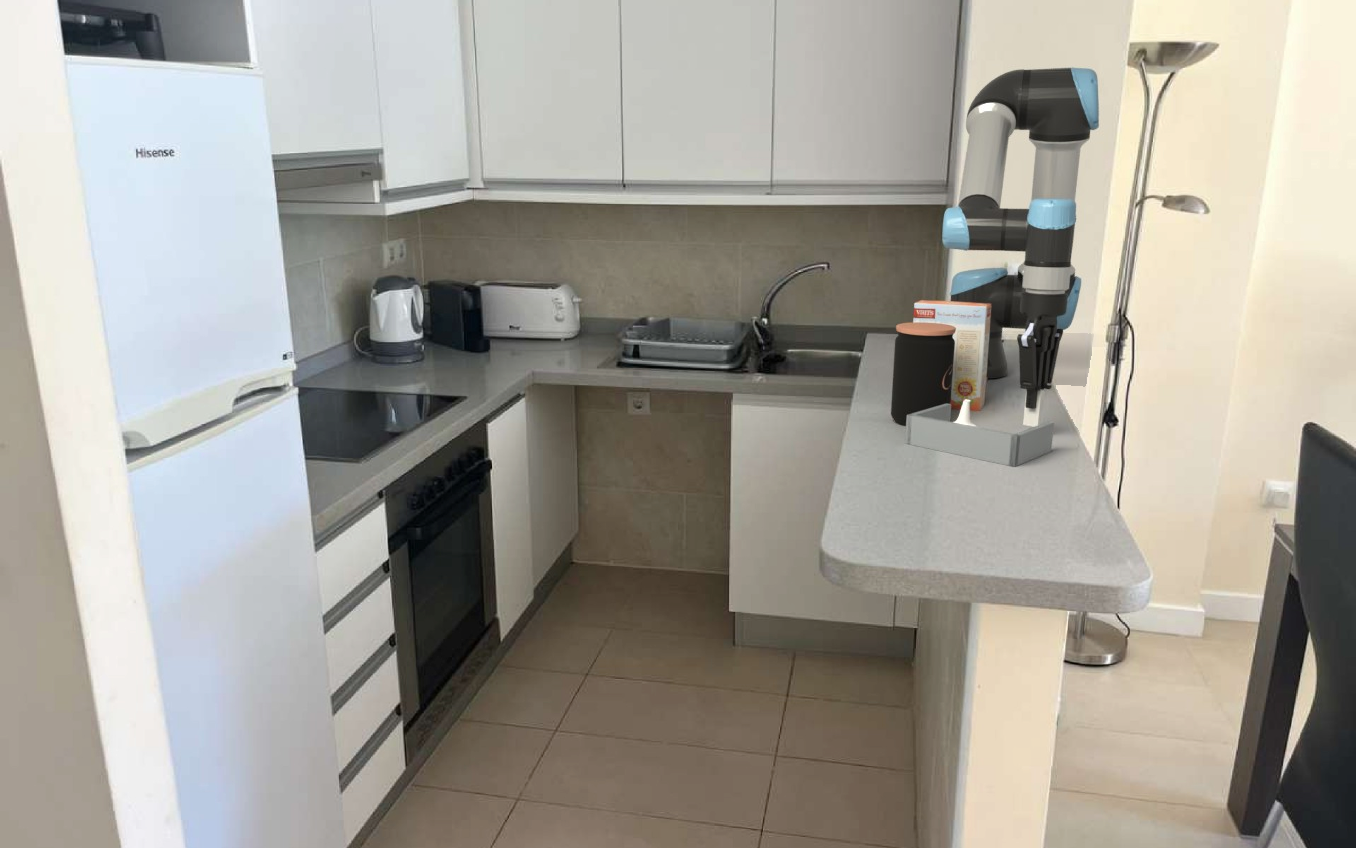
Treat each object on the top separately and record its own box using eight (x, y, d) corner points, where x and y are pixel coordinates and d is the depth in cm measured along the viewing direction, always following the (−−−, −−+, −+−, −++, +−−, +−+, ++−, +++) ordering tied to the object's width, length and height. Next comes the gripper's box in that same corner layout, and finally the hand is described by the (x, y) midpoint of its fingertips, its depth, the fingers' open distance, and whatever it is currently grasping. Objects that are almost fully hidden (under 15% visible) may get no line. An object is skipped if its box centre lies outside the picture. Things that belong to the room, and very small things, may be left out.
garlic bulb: (960, 439, 175) (963, 394, 173) (988, 446, 170) (992, 400, 168) (934, 443, 172) (937, 398, 170) (962, 451, 167) (966, 404, 165)
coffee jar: (950, 430, 181) (958, 331, 176) (890, 427, 183) (896, 329, 178) (947, 417, 191) (954, 323, 186) (890, 414, 193) (895, 321, 188)
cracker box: (984, 407, 199) (993, 302, 194) (979, 413, 194) (987, 305, 189) (914, 400, 205) (921, 298, 200) (907, 406, 200) (913, 301, 195)
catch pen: (944, 430, 181) (946, 403, 179) (1051, 451, 167) (1054, 422, 166) (905, 443, 172) (906, 415, 170) (1014, 466, 158) (1017, 436, 157)
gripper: (1040, 286, 177) (1028, 416, 183) (1006, 292, 168) (994, 427, 174) (1082, 290, 172) (1069, 422, 178) (1049, 295, 163) (1035, 435, 169)
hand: (1032, 425), depth 176 cm, fingers closed
